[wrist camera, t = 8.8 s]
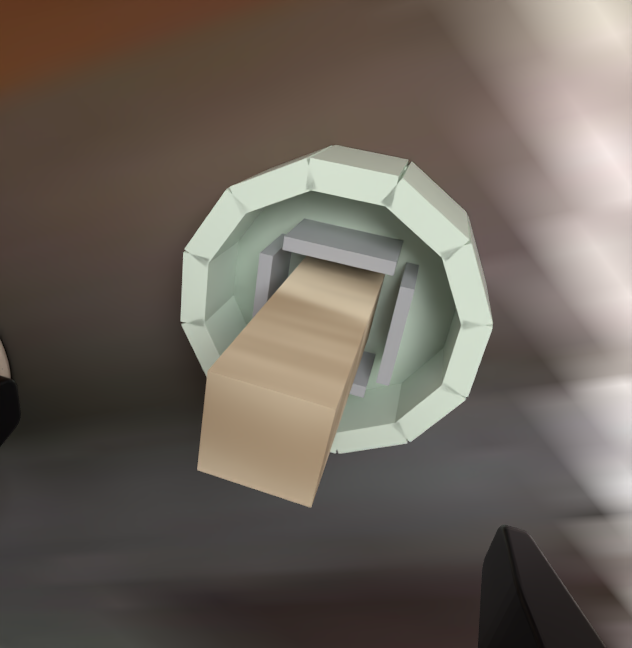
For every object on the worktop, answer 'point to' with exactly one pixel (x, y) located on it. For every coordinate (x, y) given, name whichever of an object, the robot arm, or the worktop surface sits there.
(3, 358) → the teacup with lid
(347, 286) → the wooden square beam
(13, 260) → the worktop surface
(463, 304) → the light green piece
